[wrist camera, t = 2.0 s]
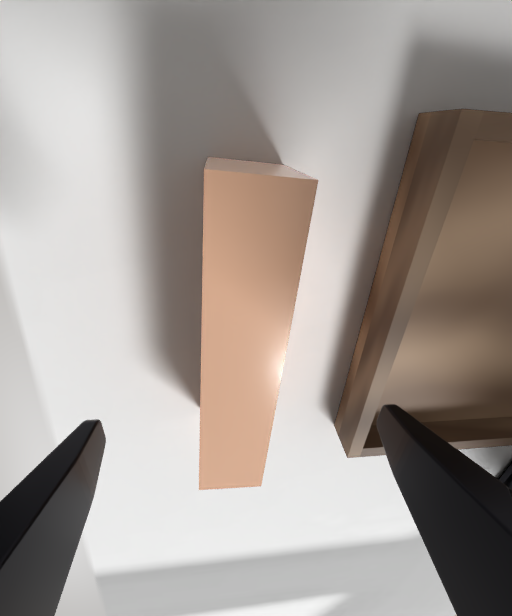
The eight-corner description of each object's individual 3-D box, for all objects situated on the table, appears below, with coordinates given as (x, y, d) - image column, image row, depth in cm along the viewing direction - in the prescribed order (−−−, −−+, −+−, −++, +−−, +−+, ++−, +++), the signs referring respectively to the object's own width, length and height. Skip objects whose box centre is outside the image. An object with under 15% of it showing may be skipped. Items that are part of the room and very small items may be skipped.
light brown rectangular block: (250, 406, 19) (261, 486, 15) (202, 408, 19) (199, 489, 14) (282, 164, 12) (318, 180, 8) (208, 156, 12) (203, 168, 8)
